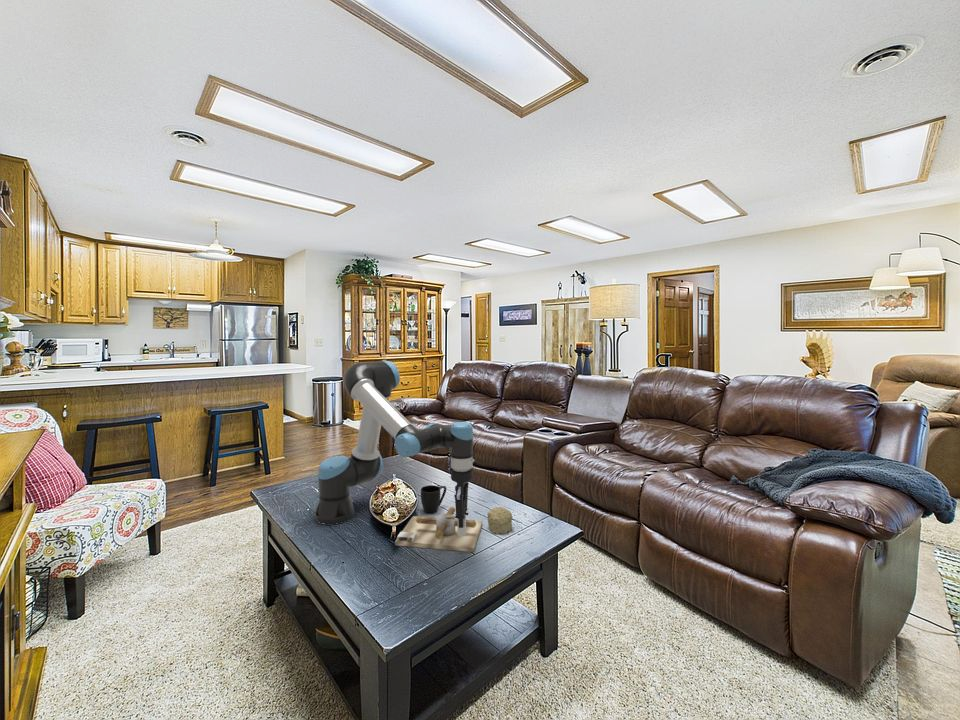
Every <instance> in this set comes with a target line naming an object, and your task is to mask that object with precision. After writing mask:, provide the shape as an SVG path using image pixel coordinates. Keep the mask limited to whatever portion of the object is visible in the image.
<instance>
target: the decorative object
mask: <svg viewBox="0 0 960 720" xmlns="http://www.w3.org/2000/svg"><path fill="white" fill-rule="evenodd" d="M512 521H513V513H512V512H511V511H510V509H507V508H504V507H502V506H501V507H500V506H495V507H494V508H492V509H490V510H489V511H488V512H487V523H488V530H489V529H490V530H489V531H490V532H491V533H492V532H493V534H494V533H496V534H495V535H501V534H503V533H504V534H507V533H506V532H508V531H509V532H511V530H512V528H513V524H512ZM509 532H508V533H509ZM500 533H501V534H500Z"/></svg>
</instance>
